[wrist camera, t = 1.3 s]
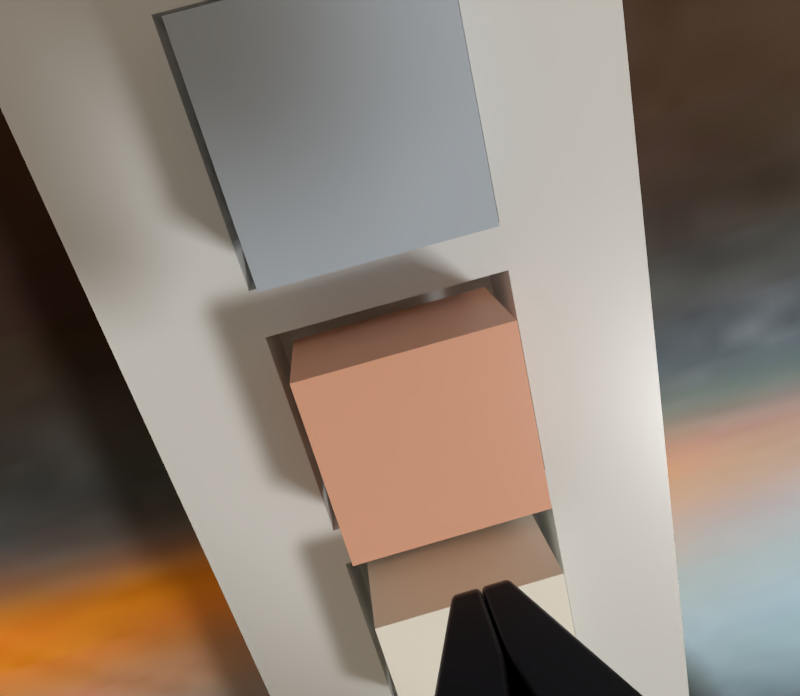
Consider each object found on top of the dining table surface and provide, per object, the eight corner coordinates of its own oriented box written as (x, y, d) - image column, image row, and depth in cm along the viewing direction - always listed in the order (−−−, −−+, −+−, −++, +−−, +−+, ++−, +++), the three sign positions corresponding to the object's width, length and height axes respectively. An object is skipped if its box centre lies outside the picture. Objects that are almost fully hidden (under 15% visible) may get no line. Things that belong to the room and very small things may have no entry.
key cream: (554, 633, 19) (588, 707, 16) (406, 677, 19) (419, 758, 16) (529, 510, 17) (563, 573, 15) (366, 557, 17) (374, 629, 14)
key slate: (468, 207, 14) (499, 226, 12) (267, 261, 14) (257, 292, 11) (421, -26, 12) (447, -58, 10) (190, 34, 12) (161, 16, 10)
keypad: (628, 663, 26) (697, 783, 21) (349, 746, 26) (358, 887, 21) (520, -90, 16) (605, -173, 11) (58, 29, 16) (-52, -5, 11)
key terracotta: (517, 451, 16) (551, 508, 14) (347, 500, 16) (352, 566, 14) (484, 287, 15) (516, 320, 12) (293, 339, 14) (289, 383, 12)
